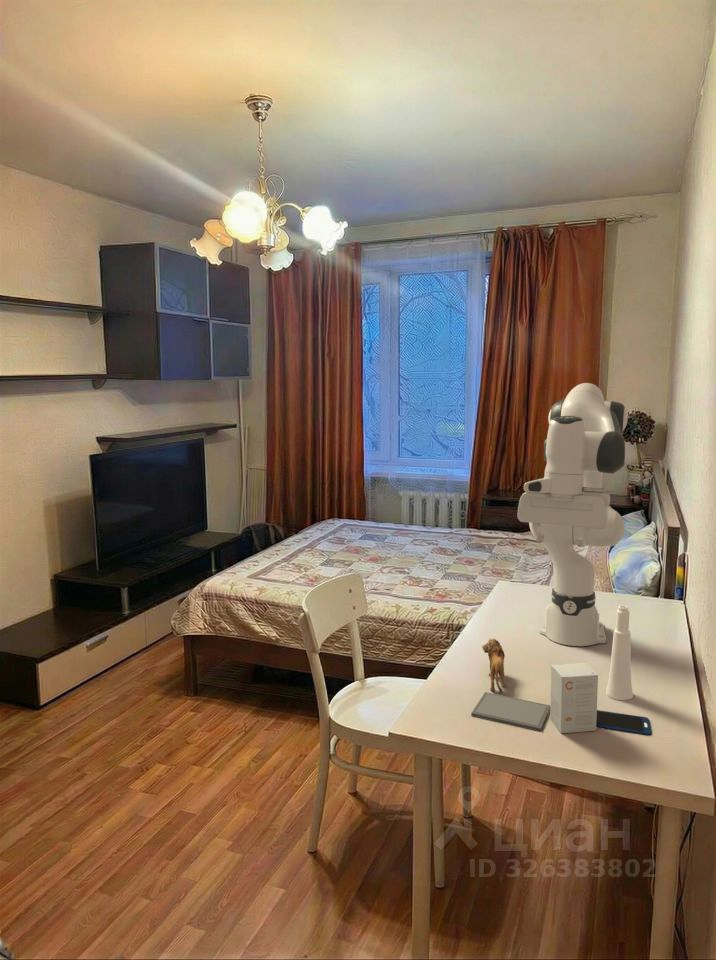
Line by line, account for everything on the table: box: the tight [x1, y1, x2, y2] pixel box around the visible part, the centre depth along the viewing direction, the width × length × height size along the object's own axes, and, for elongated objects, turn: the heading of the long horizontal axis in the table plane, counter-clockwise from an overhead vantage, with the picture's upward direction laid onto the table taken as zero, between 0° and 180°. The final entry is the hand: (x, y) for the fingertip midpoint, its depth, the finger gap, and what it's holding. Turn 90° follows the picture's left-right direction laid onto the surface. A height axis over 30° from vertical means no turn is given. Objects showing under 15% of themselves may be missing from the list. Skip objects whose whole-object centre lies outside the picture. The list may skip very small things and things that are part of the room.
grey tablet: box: [470, 691, 551, 732], centre depth 149 cm, size 11×16×1 cm
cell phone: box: [596, 709, 652, 736], centre depth 144 cm, size 7×14×1 cm, turn 70°
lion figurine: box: [481, 638, 507, 694], centre depth 164 cm, size 15×5×9 cm, turn 0°
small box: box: [549, 662, 599, 734], centre depth 142 cm, size 8×6×13 cm
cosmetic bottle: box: [605, 605, 634, 701], centre depth 155 cm, size 6×6×22 cm
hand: (560, 544), depth 153 cm, fingers open, 8 cm apart
